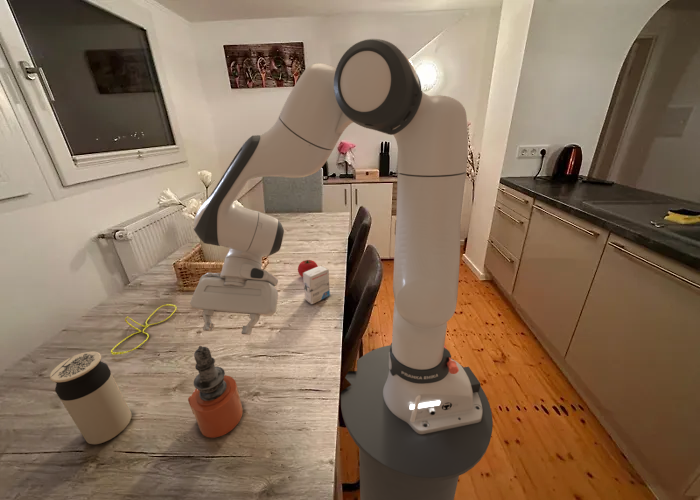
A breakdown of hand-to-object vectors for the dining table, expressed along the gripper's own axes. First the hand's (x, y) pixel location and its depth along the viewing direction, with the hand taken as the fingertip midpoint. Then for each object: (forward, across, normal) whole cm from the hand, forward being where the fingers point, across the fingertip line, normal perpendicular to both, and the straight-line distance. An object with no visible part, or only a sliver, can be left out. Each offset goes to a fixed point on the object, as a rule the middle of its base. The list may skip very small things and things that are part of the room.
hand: (226, 332), depth 63 cm
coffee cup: (+18, 0, +6) cm, 19 cm away
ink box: (-17, +9, +42) cm, 46 cm away
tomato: (-28, 0, +53) cm, 60 cm away
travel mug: (+22, -23, +2) cm, 32 cm away
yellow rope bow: (0, -43, +24) cm, 49 cm away
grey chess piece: (+12, 0, 0) cm, 12 cm away
